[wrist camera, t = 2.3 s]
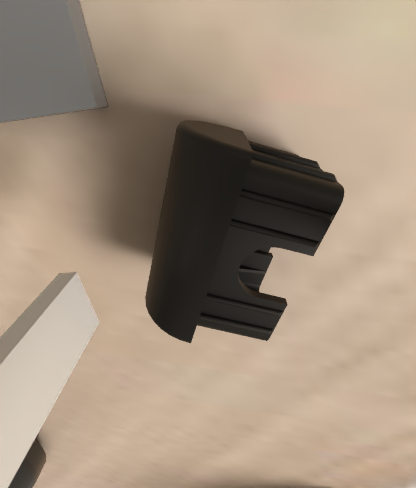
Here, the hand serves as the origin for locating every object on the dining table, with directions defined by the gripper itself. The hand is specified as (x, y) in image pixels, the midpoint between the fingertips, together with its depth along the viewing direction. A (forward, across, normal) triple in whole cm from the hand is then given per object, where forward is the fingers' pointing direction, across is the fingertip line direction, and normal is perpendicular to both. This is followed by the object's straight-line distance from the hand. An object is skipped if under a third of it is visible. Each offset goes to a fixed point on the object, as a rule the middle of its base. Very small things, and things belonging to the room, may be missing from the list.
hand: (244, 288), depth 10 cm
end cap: (+8, -1, 0) cm, 8 cm away
